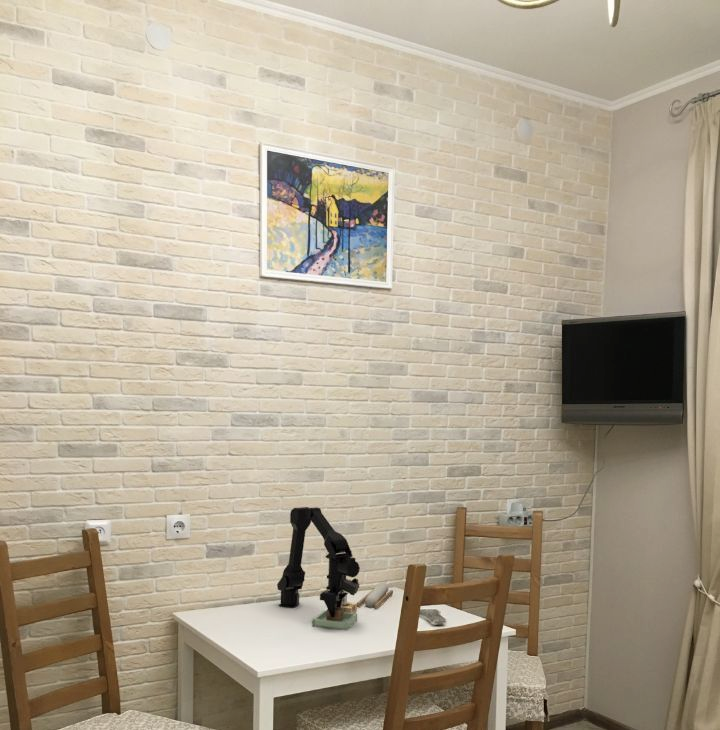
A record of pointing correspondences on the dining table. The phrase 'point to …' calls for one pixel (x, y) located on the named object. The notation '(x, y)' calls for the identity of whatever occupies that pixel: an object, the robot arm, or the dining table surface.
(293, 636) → the dining table surface
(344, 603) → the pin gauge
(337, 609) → the walnut block
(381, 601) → the tube rest
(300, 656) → the dining table surface
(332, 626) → the tray
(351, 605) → the oak block
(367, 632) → the dining table surface
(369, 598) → the tube
